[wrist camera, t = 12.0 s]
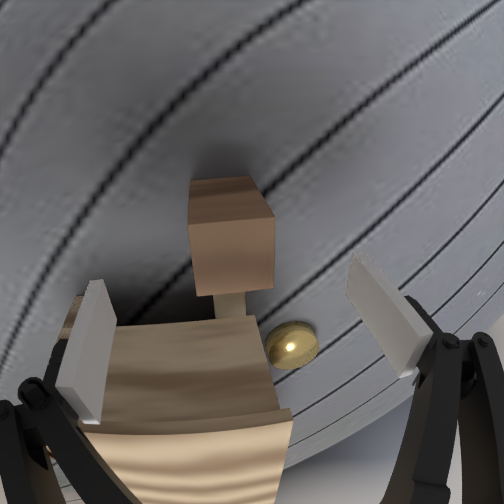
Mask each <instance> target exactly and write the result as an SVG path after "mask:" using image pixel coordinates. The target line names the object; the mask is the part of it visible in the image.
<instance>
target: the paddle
mask: <svg viewBox="0 0 504 504" xmlns="http://www.w3.org/2000/svg"><path fill="white" fill-rule="evenodd" d="M187 226H188V234H189V242H190V250H191V258H192V265H193V272H194V279H195V286H196V293H197V296H207V295H213V300H214V308H215V316H216V319H222V318H232V317H241V316H246V301H245V291H253V290H262V289H270V288H274V259H275V216H274V214H273V213H272V211H271V209H270V208H269V206H268V204H267V203H266V201H265V199H264V198H263V196H262V195H261V193H260V191H259V190H258V188H257V186H256V185H255V183H254V182H253V180H252V178H251V177H250V176H242V177H228V178H215V179H203V180H193V181H190V191H189V206H188V224H187Z"/></svg>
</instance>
